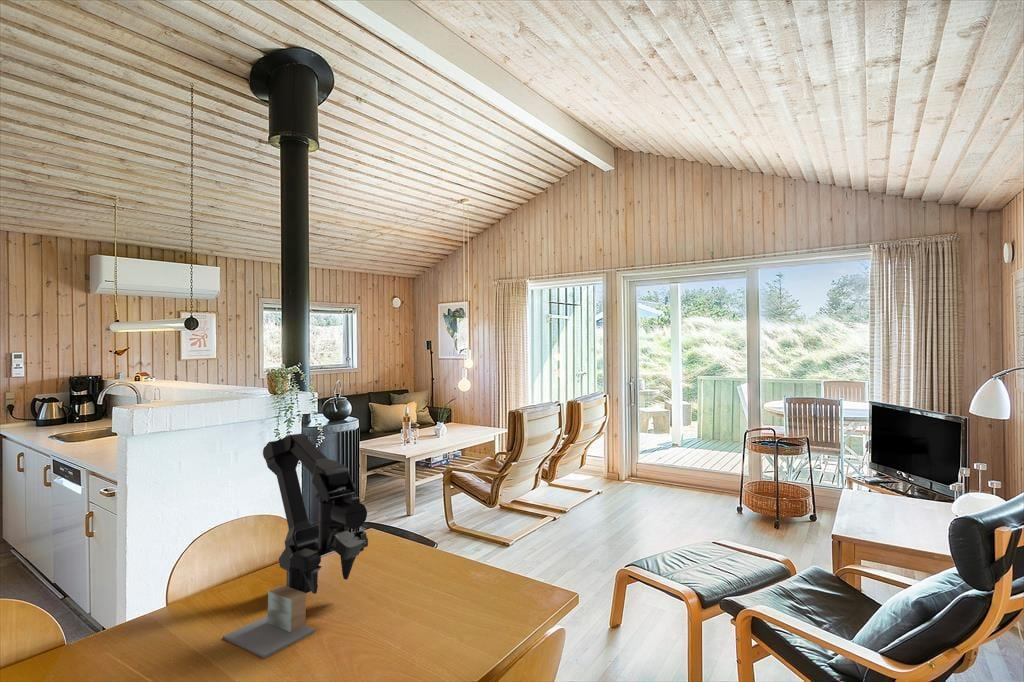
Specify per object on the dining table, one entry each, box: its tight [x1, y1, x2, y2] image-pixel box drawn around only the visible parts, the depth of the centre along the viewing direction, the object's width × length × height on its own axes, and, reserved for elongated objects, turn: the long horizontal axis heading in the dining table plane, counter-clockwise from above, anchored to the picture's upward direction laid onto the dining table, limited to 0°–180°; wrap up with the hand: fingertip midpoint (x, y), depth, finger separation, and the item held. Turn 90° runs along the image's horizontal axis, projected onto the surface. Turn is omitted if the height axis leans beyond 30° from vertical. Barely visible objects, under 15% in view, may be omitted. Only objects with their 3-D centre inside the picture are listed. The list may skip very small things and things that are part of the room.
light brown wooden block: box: [267, 584, 307, 633], centre depth 117 cm, size 8×4×7 cm, turn 59°
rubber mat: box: [222, 615, 316, 659], centre depth 113 cm, size 14×12×1 cm
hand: (330, 586), depth 127 cm, fingers open, 9 cm apart
